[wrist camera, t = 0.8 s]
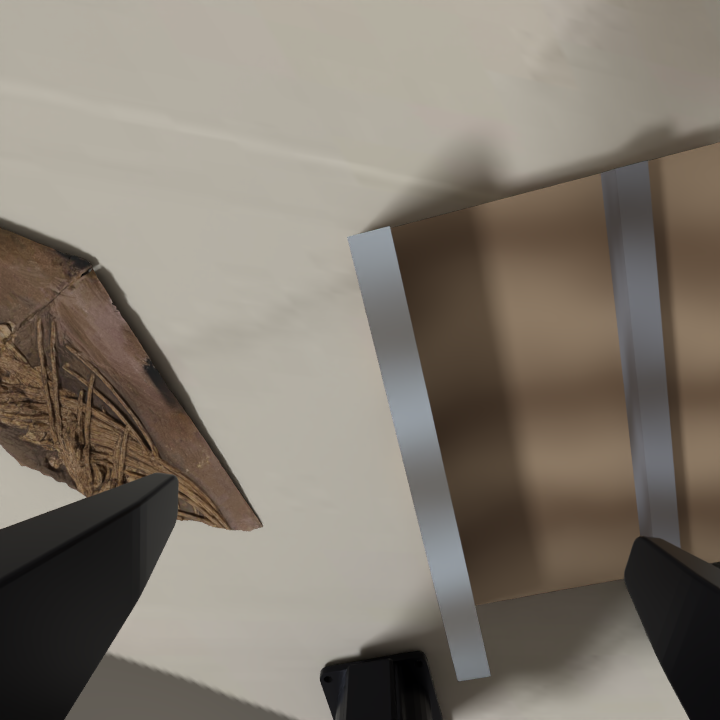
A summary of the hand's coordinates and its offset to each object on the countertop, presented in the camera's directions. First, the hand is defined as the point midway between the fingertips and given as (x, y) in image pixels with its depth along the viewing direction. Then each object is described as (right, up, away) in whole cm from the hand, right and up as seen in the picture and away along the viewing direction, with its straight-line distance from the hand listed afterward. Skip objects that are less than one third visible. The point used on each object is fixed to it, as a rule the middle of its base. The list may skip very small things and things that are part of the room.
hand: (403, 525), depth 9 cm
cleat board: (+9, +1, +14) cm, 16 cm away
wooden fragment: (-16, +3, +15) cm, 22 cm away
